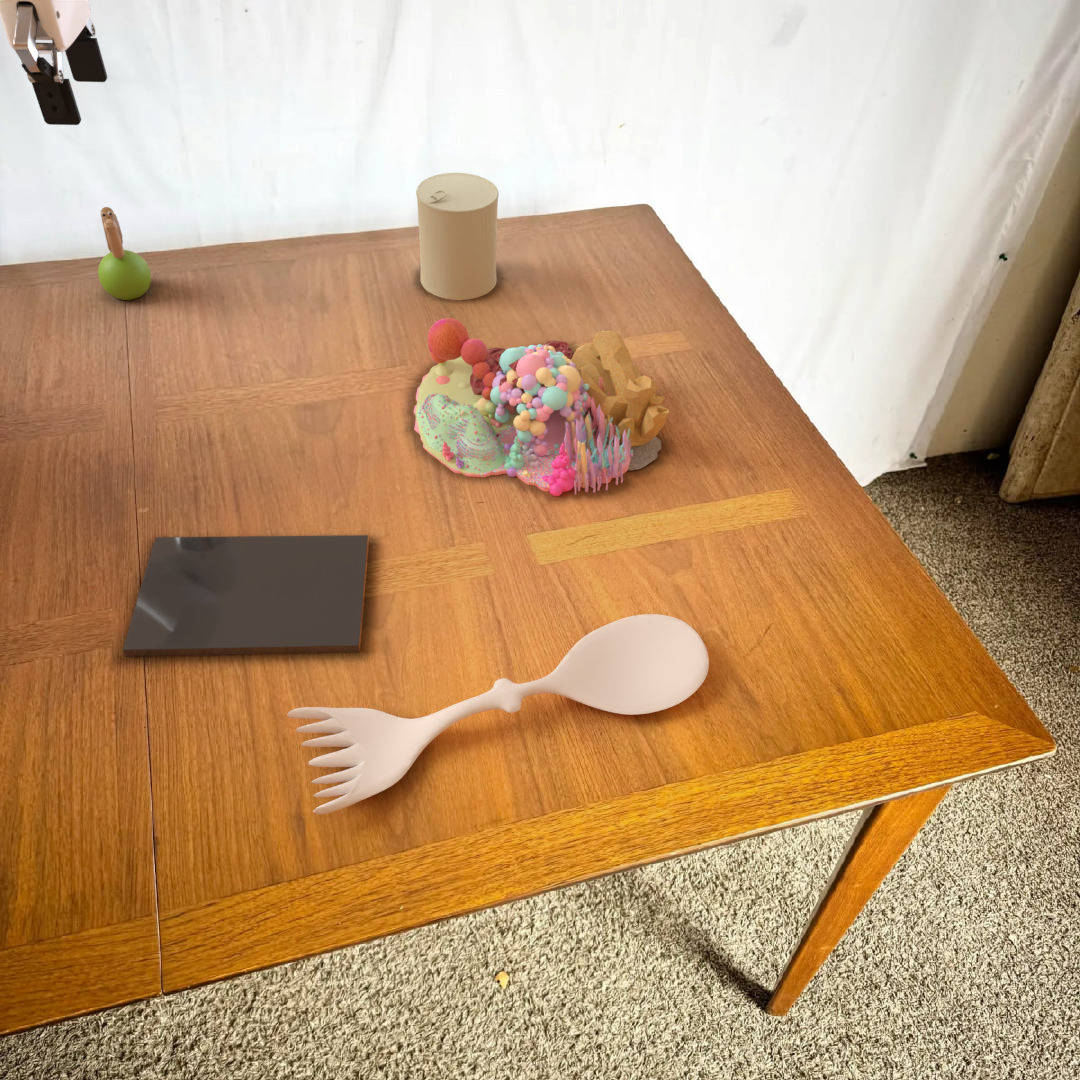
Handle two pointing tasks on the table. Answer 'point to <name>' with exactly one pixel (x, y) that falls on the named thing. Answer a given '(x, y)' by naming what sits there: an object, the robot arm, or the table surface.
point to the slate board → (250, 596)
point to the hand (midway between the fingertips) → (78, 101)
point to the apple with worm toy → (121, 264)
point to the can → (457, 235)
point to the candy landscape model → (537, 410)
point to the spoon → (514, 702)
